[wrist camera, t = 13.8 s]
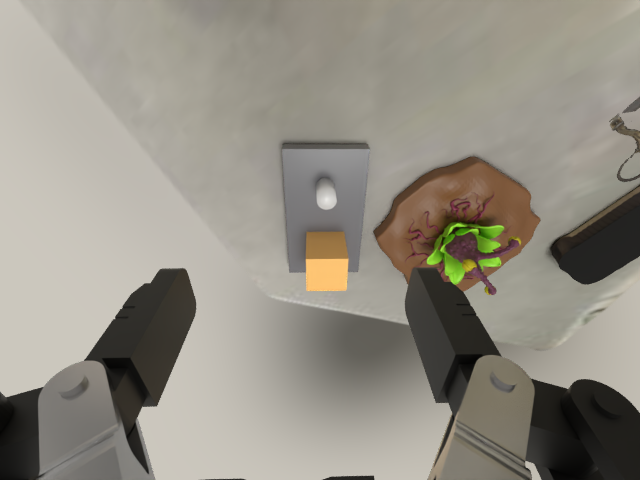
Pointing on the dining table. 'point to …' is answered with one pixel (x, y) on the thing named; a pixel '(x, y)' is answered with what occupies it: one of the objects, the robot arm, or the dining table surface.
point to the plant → (458, 223)
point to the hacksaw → (627, 133)
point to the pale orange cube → (326, 261)
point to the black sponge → (602, 242)
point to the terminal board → (306, 196)
